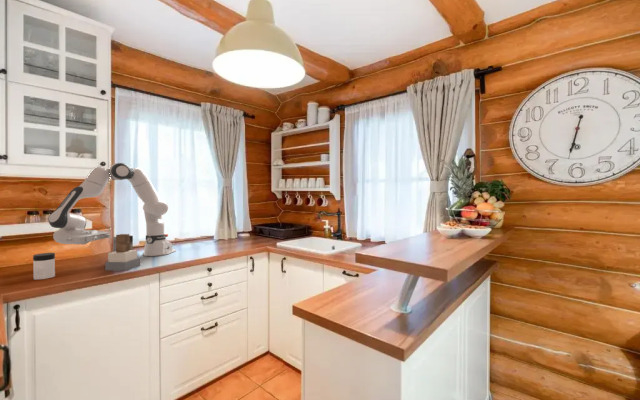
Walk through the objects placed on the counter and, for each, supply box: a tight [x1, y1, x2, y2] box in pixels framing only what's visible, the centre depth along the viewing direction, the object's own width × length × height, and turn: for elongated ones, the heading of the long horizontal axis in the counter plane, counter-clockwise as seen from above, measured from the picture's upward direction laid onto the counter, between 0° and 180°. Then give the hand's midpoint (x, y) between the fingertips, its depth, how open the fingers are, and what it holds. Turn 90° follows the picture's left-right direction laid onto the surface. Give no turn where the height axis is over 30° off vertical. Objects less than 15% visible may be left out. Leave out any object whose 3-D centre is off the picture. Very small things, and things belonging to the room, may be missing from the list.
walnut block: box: [115, 233, 130, 253], centre depth 166 cm, size 4×4×10 cm
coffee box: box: [112, 235, 134, 252], centre depth 183 cm, size 9×6×16 cm
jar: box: [32, 252, 56, 281], centre depth 147 cm, size 9×8×12 cm
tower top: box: [107, 249, 138, 262], centre depth 166 cm, size 10×10×5 cm
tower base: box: [104, 257, 141, 272], centre depth 167 cm, size 12×12×5 cm
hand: (102, 237), depth 167 cm, fingers open, 8 cm apart
